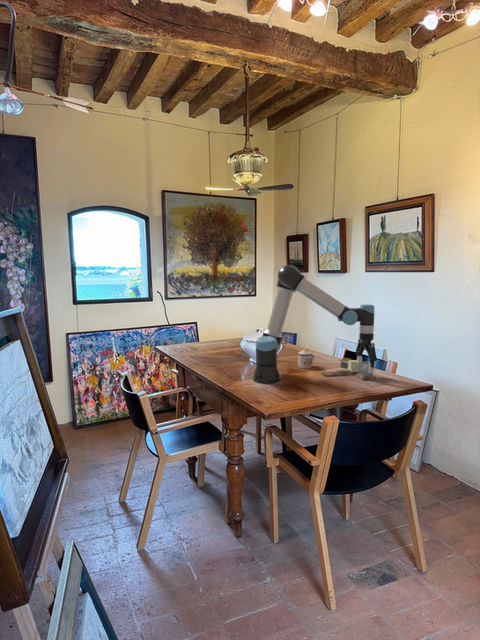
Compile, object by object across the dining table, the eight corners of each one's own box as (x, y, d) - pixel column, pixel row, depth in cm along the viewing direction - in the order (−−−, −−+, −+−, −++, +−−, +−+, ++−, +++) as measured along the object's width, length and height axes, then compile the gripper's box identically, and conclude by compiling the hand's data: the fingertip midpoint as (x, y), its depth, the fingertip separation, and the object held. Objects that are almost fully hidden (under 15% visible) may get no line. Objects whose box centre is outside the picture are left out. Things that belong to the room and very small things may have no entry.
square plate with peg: (362, 380, 213) (362, 365, 212) (355, 376, 221) (355, 361, 220) (375, 379, 214) (375, 364, 213) (368, 375, 222) (368, 361, 221)
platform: (339, 364, 250) (339, 354, 250) (365, 369, 237) (365, 359, 237) (329, 368, 242) (329, 357, 242) (354, 373, 229) (355, 362, 228)
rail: (324, 376, 221) (325, 372, 220) (321, 374, 227) (321, 370, 226) (367, 374, 225) (367, 370, 225) (362, 371, 231) (362, 367, 231)
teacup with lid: (304, 369, 238) (305, 350, 236) (294, 366, 245) (294, 348, 244) (318, 366, 245) (318, 348, 243) (308, 364, 252) (308, 346, 251)
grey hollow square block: (362, 377, 214) (363, 364, 213) (357, 374, 220) (358, 362, 219) (372, 376, 215) (373, 364, 214) (367, 373, 221) (368, 361, 220)
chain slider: (337, 372, 223) (338, 362, 222) (335, 371, 227) (335, 361, 226) (358, 371, 225) (359, 361, 224) (355, 370, 229) (356, 360, 228)
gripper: (384, 335, 203) (383, 375, 205) (362, 329, 227) (360, 364, 230) (371, 336, 201) (370, 376, 204) (350, 329, 226) (348, 365, 228)
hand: (365, 370), depth 217 cm, fingers open, 13 cm apart
